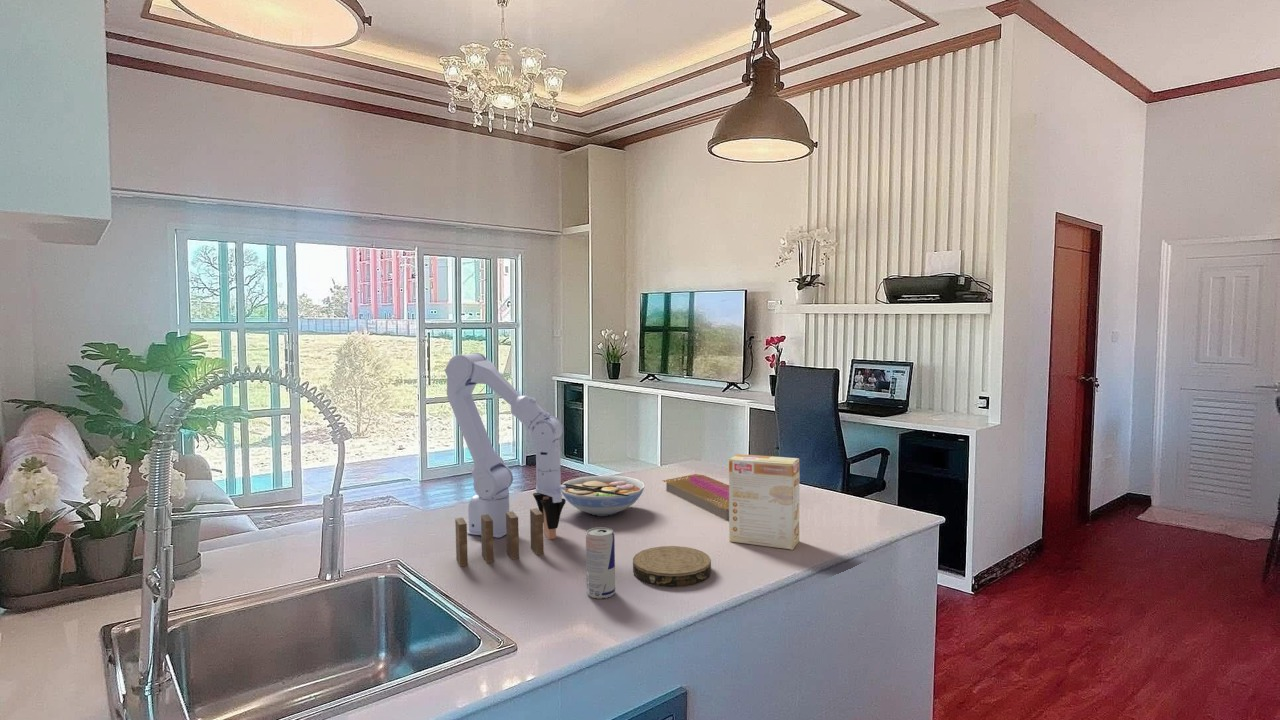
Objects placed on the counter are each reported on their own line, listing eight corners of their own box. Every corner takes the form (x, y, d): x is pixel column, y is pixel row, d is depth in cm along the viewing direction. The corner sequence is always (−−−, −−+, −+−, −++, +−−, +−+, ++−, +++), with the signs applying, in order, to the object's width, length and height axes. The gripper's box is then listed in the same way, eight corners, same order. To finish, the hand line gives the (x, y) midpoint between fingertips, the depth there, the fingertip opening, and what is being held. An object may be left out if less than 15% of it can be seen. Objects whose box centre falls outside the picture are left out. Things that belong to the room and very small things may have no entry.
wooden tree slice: (726, 577, 138) (726, 563, 138) (661, 595, 130) (661, 579, 130) (680, 554, 152) (680, 541, 152) (618, 569, 143) (618, 555, 143)
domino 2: (486, 562, 147) (485, 521, 147) (481, 555, 152) (480, 515, 151) (493, 561, 148) (492, 520, 147) (489, 554, 152) (488, 514, 152)
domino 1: (460, 566, 145) (458, 524, 144) (456, 559, 150) (455, 518, 149) (467, 565, 146) (466, 523, 145) (463, 558, 150) (462, 517, 150)
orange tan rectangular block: (549, 539, 162) (548, 501, 161) (543, 533, 167) (542, 496, 166) (556, 538, 163) (555, 501, 162) (550, 532, 167) (549, 496, 167)
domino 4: (536, 555, 152) (535, 514, 151) (530, 548, 156) (530, 509, 156) (543, 554, 152) (542, 513, 152) (537, 547, 157) (537, 508, 156)
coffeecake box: (800, 541, 159) (800, 457, 158) (793, 550, 152) (793, 463, 151) (737, 533, 165) (737, 452, 164) (728, 542, 159) (728, 458, 158)
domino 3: (511, 558, 149) (510, 518, 149) (506, 551, 154) (505, 512, 153) (519, 557, 150) (518, 517, 149) (513, 550, 155) (512, 511, 154)
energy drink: (619, 589, 132) (618, 528, 131) (609, 601, 127) (608, 537, 126) (593, 586, 134) (592, 525, 133) (582, 597, 129) (581, 534, 128)
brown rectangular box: (662, 492, 206) (662, 471, 206) (704, 486, 212) (704, 466, 212) (725, 523, 174) (725, 499, 174) (772, 515, 180) (772, 492, 180)
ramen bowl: (665, 508, 187) (664, 478, 186) (617, 531, 167) (617, 498, 167) (590, 496, 200) (590, 468, 200) (538, 516, 181) (538, 485, 180)
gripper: (574, 473, 158) (575, 531, 159) (555, 461, 172) (556, 515, 173) (544, 476, 156) (545, 535, 157) (528, 464, 169) (529, 518, 170)
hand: (549, 525), depth 164 cm, fingers closed on orange tan rectangular block, 5 cm apart
